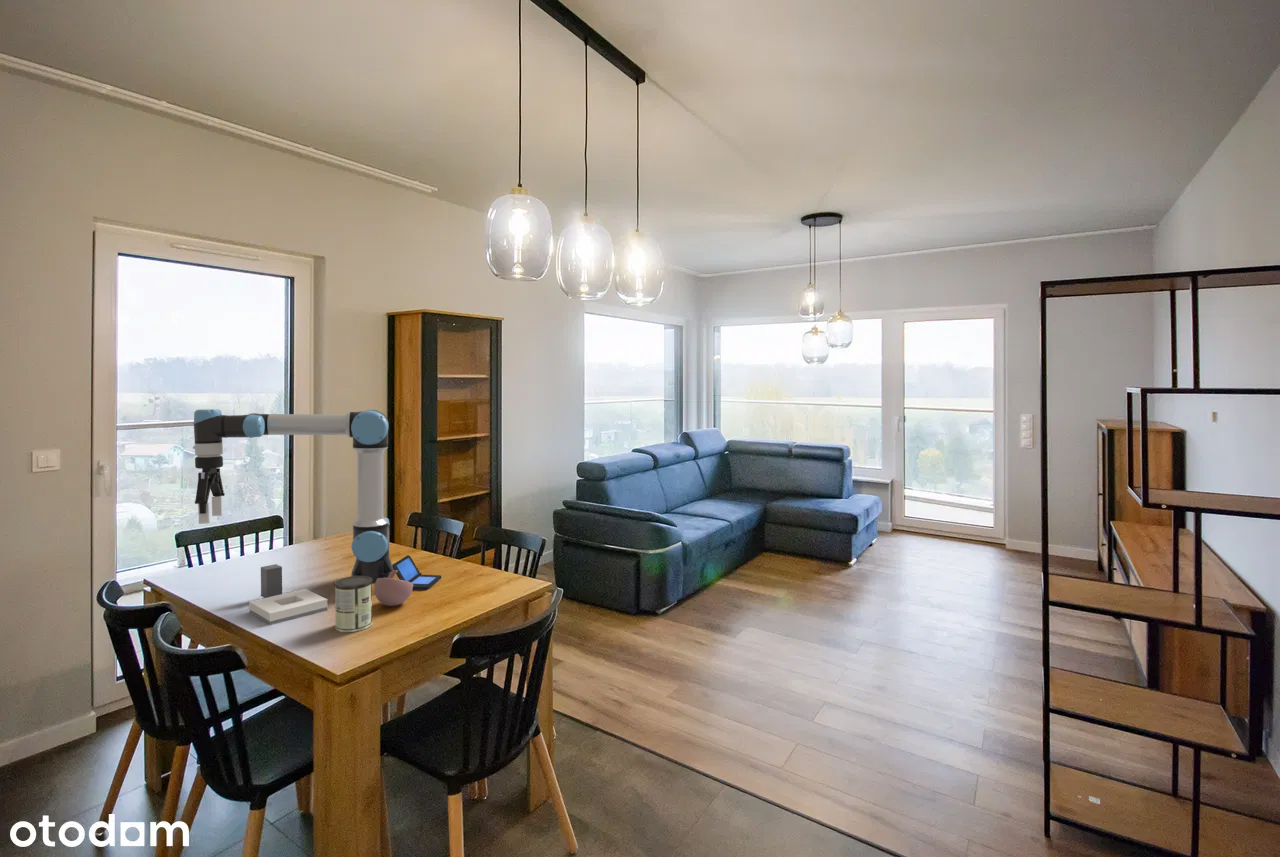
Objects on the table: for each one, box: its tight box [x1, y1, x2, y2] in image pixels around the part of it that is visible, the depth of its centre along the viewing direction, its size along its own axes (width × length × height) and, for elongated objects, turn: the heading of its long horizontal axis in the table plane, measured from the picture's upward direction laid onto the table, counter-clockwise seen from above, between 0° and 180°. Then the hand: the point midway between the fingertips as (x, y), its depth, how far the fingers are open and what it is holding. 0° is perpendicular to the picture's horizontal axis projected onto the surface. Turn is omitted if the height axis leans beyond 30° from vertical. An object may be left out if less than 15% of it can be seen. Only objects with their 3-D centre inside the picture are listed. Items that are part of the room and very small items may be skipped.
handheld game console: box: [392, 554, 442, 591], centre depth 226 cm, size 16×13×9 cm
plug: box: [260, 563, 283, 598], centre depth 206 cm, size 5×5×11 cm
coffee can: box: [334, 576, 373, 633], centre depth 183 cm, size 10×10×14 cm
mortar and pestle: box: [373, 570, 413, 607], centre depth 202 cm, size 12×12×11 cm
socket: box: [249, 588, 328, 626], centre depth 195 cm, size 17×16×4 cm
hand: (210, 519), depth 201 cm, fingers open, 13 cm apart
